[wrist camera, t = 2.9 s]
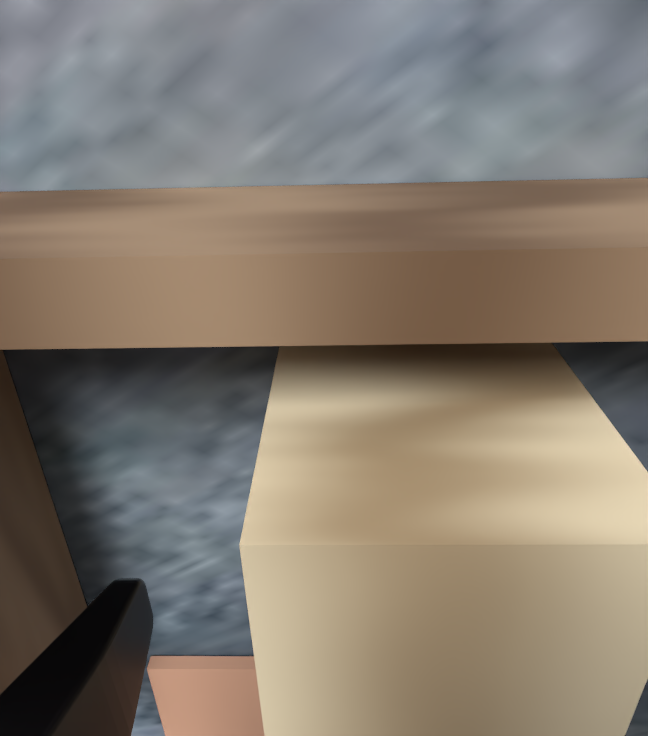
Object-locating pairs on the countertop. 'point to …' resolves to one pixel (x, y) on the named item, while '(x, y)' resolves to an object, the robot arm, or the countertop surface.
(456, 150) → the countertop surface
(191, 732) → the mat
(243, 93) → the countertop surface
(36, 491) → the open side box
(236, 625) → the countertop surface
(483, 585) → the maple block
